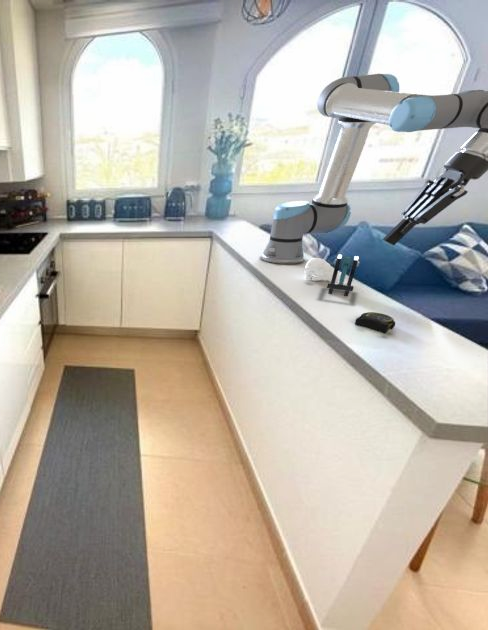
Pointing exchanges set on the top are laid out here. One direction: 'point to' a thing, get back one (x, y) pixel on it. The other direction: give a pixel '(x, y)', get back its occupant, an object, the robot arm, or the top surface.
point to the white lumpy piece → (320, 270)
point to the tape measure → (375, 321)
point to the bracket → (353, 268)
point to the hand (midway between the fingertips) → (388, 242)
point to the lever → (342, 276)
